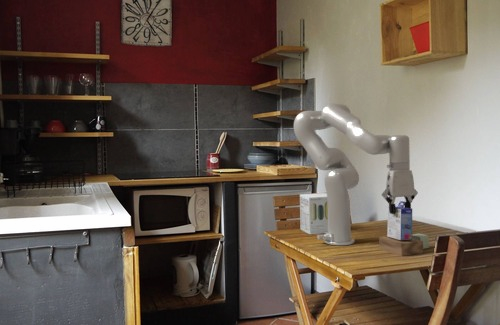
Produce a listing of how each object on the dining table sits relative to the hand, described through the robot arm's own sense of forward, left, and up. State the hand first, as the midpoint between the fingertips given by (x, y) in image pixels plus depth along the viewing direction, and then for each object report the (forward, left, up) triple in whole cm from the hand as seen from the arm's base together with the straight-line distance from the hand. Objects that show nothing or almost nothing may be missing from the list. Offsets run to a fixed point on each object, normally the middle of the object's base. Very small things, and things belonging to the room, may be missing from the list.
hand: (400, 212), depth 201 cm
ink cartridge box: (0, 0, -10) cm, 10 cm away
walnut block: (0, 0, -15) cm, 15 cm away
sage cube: (+10, +2, -15) cm, 18 cm away
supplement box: (-13, +50, -15) cm, 54 cm away
